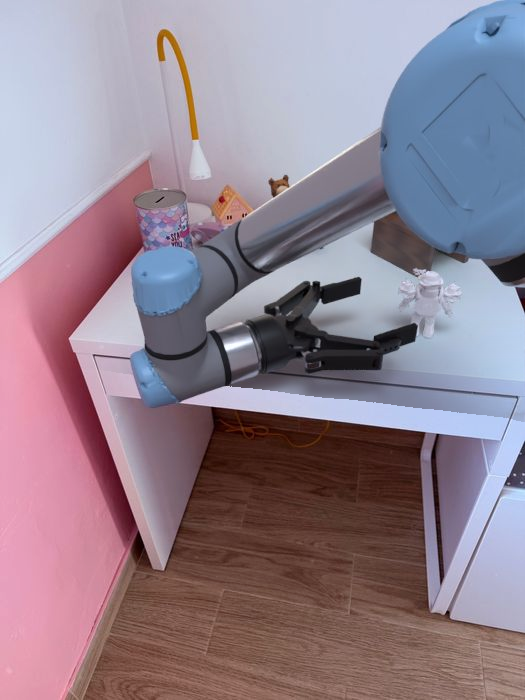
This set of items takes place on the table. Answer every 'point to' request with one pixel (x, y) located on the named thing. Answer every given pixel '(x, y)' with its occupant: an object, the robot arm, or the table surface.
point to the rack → (404, 245)
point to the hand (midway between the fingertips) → (385, 307)
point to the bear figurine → (278, 185)
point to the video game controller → (207, 231)
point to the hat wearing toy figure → (428, 299)
